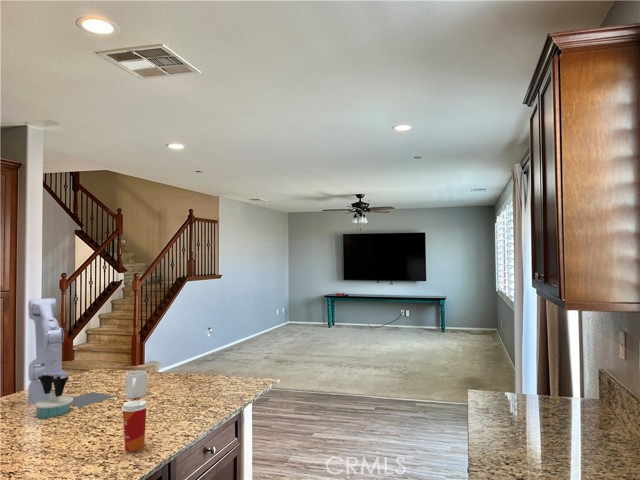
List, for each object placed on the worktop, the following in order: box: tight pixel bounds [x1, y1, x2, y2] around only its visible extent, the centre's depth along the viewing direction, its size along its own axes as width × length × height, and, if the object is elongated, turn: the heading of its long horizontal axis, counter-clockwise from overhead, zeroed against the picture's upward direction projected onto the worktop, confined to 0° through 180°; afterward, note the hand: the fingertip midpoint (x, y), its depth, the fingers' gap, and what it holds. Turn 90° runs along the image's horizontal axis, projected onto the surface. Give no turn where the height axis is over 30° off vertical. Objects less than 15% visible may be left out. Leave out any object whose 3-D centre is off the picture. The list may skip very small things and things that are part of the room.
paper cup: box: [121, 399, 148, 452], centre depth 146 cm, size 8×8×14 cm
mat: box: [69, 391, 116, 408], centre depth 197 cm, size 16×16×1 cm
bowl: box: [36, 404, 70, 420], centre depth 180 cm, size 11×11×4 cm
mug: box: [125, 370, 147, 399], centre depth 199 cm, size 12×8×10 cm
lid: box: [34, 388, 74, 409], centre depth 181 cm, size 13×13×5 cm
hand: (53, 394), depth 180 cm, fingers open, 7 cm apart
